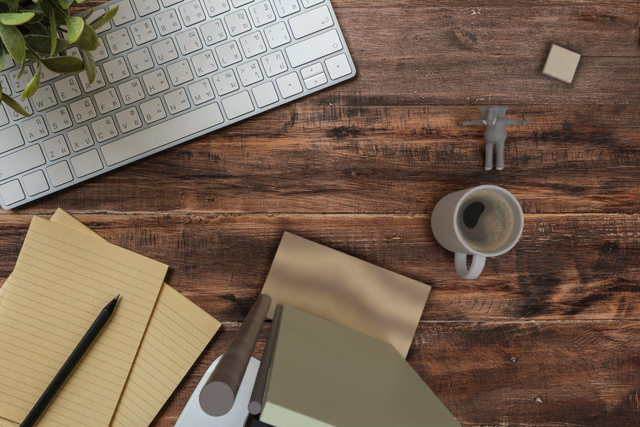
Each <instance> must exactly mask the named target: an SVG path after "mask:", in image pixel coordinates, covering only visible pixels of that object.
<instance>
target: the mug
mask: <svg viewBox="0 0 640 427" xmlns="http://www.w3.org/2000/svg"><path fill="white" fill-rule="evenodd" d="M524 222H525V220H524V212H523V209H522V206H521V204H520V203H519V201H518V199H517V198H516V197H515V196H514V195H513V194H512V193H511V192H510V191H508V190H507V189H505V188H503V187H501V186H499V185H494V184H481V185H478V186H473V187H469V188H465V189H461V190H458V191H453V192H451V193H447V194H446V195H445V196H443V197H442V198H441V199H440V200H438V202H436V204H435V205H434V207H433V210H432V213H431V217H430V225H431V226H430V227H431V231H432V234H433V236H434V238H435V239H436V241H437V243H439V245H440V246H441V247H442V248H444V249H445V250H448V251H449V252H451V253H454V269H455V271H456V273H457V275H458V276H459V277H460V278H461V279H466V280H475V279H477V278H478V277H479V276H480V275H481V273H482V272H483V270H484V268H485V264H486V260H487V258H493V257H497V256H498V257H499V256H501V255H504V254H506V253H507V252H509V251H510V250H511V249H512V248H513V247H515V245H517V243H518V242H519V240H520V238H521V236H522V233H523V230H524V224H525V223H524ZM467 255H470V256H472V260H471V264H470V266H469V269H468V268H467Z"/></svg>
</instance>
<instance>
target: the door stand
mask: <svg viewBox="0 0 640 427" xmlns="http://www.w3.org/2000/svg"><path fill="white" fill-rule="evenodd" d="M431 290H432V286H431V285H430V284H427V283H424V282H422V281H419V280H416V279H415V278H411V277H409V276H406V275H404V274H400V273H397V272H395V271H392V270H389V269H387V268H385V267H383V266H379V265H377V264H374V263H371V262H370V261H366V260H364V259H361V258H358V257H356V256H352V255H350V254H347V253H346V252H343V251H340V250H336V249H334V248H332V247H329V246H326V245H324V244H321V243H319V242H316V241H313V240H311V239H308V238H305V237H302V236H300V235H297V234H295V233H292V232H289V231H287V230H284V232H283V234H282V237H281V239H280V242H279V243H278V247H277V250H276V253H275V255H274V258H273V260H272V263H271V266H270V269H269V271H268V273H267V276H266V279H265V282H264V284H263V287H262V289H261V292H260V294H259V295H258V296H257V298H256V299H255V301H254V303H252V304H253V305H252V306H251V308H250V309H249V311H248V313H247V314H246V316H245V317H244V319H243V321H242V322H241V324H240V326H239V327H238V329H237V330H236V332H235V334H234V335H233V338H232V339H231V340H230V342H229V344H228V345H227V347H226V348H225V350H224V352H223V354H222V355H221V356H220V359H219V360H218V362H217V364H216V365H215V367H214V368H213V370H212V371H211V373H210V375H209V377H208V378H207V380H206V381H205V383H204V385H203V386H202V388H201V389H200V391H199V395H198V402H199V407H200V409H201V410H202V411H203V412H204V413H205V414H206V415H208V416H211V417H214V418H215V417H217V418H218V417H223V416H225V415H227V414H229V412H230V411H231V410H232V408H233V407H234V405H235V402H236V399H237V397H238V393H239V391H240V388H241V385H242V383H243V380H244V377H245V375H246V372H247V369H248V367H249V364H250V361H251V359H252V356H253V353H254V351H255V348H256V345H257V343H258V340H259V337H260V334H261V331H262V329H263V326H264V324H265V321H266V318H267V319H270V320H272V319H273V316H274V312H275V309H276V305H277V304H281V305H282V308H283V305H284V304H285V305H288V306H291V307H293V308H296V309H299V310H301V311H304V312H307V313H309V314H312V315H315V316H317V317H320V318H323V319H325V320H328V321H331V322H334V323H336V324H339V325H342V326H344V327H347V328H350V329H352V330H355V331H358V332H360V333H363V334H366V335H368V336H371V337H374V338H376V339H379V340H382V341H384V342H387V343H390V344H392V345H393V346H394V347H395V348H396V349H397V351H398V352H399V353H400V354H401V355H402V356H403V358H404V359H405V360H406V358H407V356H408V353H409V350H410V347H411V345H412V342H413V340H414V337H415V334H416V331H417V328H418V325H419V323H420V320H421V317H422V315H423V313H424V312H423V311H424V309H425V306H426V303H427V301H428V298H429V295H430V293H431ZM281 311H282V309H281ZM280 315H281V314H280ZM279 320H280V319H279Z"/></svg>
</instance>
